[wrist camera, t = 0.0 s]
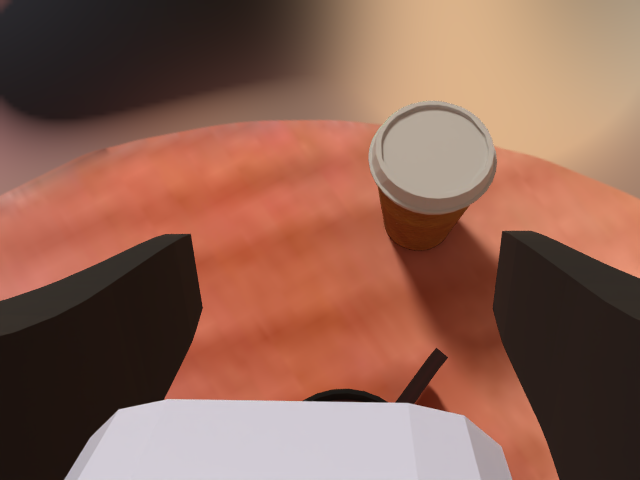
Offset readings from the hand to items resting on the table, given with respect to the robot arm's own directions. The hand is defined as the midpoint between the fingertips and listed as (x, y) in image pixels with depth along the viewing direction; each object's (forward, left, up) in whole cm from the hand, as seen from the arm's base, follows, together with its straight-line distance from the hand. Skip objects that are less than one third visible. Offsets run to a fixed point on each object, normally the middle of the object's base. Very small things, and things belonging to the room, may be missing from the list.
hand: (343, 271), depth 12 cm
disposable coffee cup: (+17, -6, -32) cm, 37 cm away
